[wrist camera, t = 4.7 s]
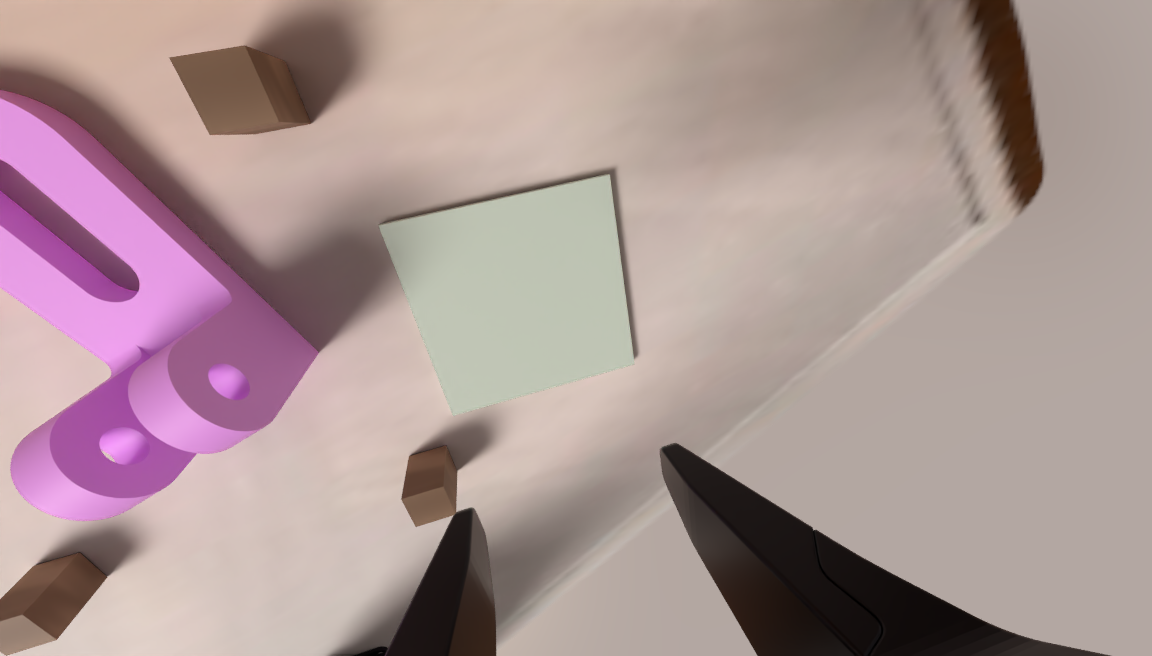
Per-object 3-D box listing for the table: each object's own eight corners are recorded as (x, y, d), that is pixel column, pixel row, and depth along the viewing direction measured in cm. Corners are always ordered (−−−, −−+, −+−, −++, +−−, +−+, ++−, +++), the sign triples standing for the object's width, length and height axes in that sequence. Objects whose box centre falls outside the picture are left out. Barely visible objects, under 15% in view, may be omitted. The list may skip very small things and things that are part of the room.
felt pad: (632, 360, 23) (634, 364, 23) (453, 411, 22) (453, 415, 22) (607, 173, 19) (609, 174, 18) (379, 223, 18) (378, 225, 17)
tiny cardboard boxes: (457, 471, 24) (455, 514, 21) (63, 590, 21) (6, 655, 19) (285, 61, 15) (244, 45, 12) (-440, 181, 12) (-693, 196, 9)
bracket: (319, 350, 19) (250, 453, 13) (218, 412, 19) (103, 542, 13) (9, 52, 13) (-389, -16, 7) (-135, 145, 13) (-648, 158, 7)
